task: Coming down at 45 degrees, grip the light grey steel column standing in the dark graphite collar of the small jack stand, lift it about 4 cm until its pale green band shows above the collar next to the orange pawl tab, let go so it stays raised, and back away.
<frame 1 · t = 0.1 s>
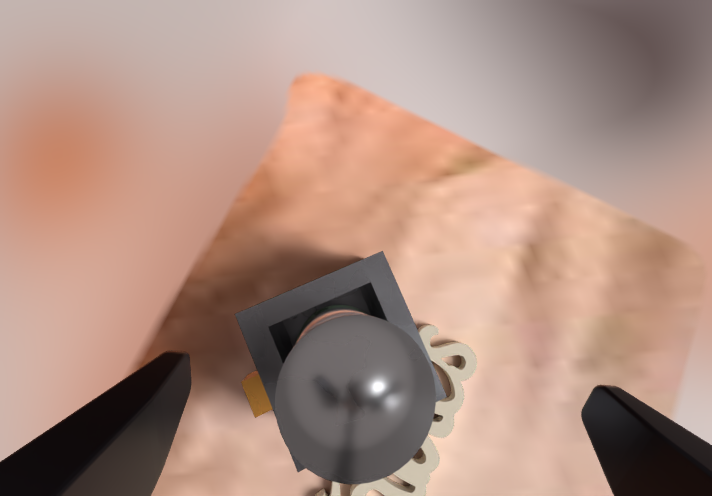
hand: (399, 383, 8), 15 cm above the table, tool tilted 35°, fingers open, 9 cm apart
stand collar: (336, 338, 22), on the table
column: (343, 357, 15), point 7 cm above the table, slide at 0.0 cm
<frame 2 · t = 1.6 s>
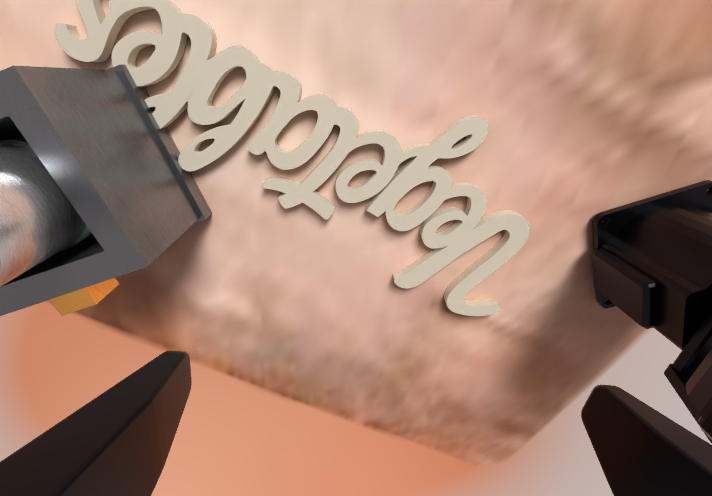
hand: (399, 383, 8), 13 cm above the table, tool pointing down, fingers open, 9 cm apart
decorative sign: (340, 150, 19), on the table
stand collar: (109, 170, 18), on the table
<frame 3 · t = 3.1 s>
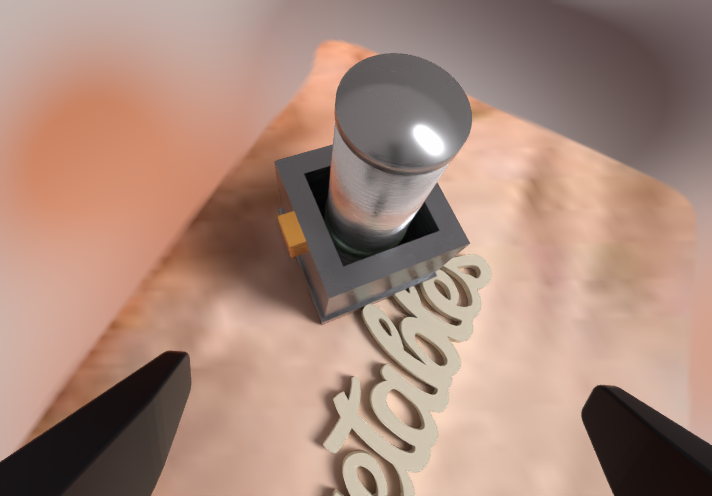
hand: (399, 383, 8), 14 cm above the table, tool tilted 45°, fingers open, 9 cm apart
decorative sign: (385, 450, 20), on the table
stand collar: (355, 247, 23), on the table
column: (373, 197, 17), point 7 cm above the table, slide at 0.0 cm
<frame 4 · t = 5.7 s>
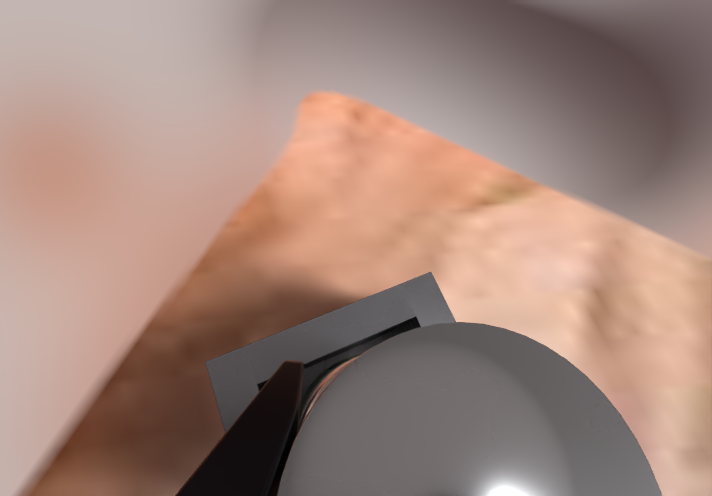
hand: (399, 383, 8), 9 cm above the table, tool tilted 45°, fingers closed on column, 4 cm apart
stand collar: (350, 413, 16), on the table
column: (378, 439, 9), point 7 cm above the table, slide at 0.0 cm, touching gripper, stand collar
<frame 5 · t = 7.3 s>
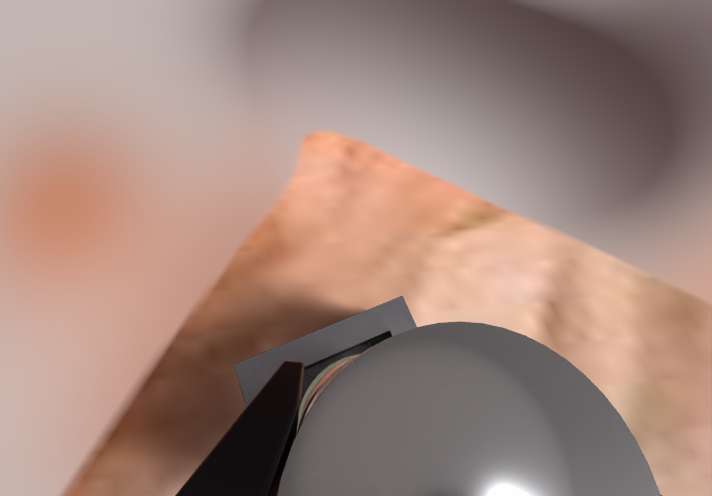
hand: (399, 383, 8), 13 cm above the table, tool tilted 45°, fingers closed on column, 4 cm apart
stand collar: (343, 405, 19), on the table
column: (378, 437, 9), point 11 cm above the table, slide at 3.8 cm, touching gripper
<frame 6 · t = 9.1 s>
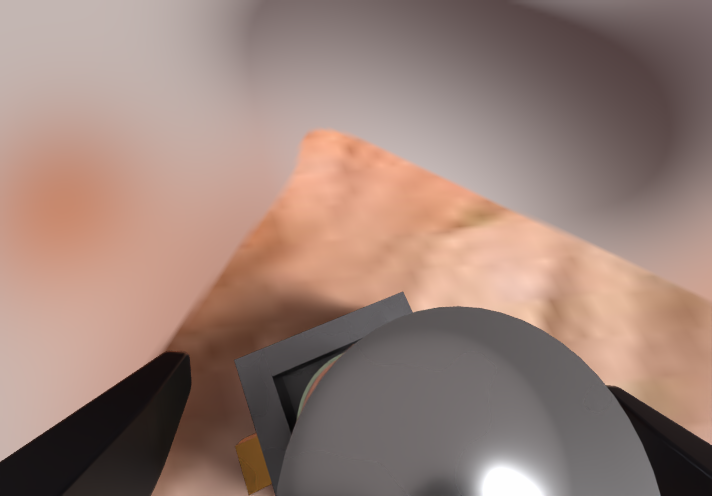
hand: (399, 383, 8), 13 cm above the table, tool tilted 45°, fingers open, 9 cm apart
stand collar: (343, 402, 19), on the table
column: (378, 429, 9), point 11 cm above the table, slide at 3.7 cm
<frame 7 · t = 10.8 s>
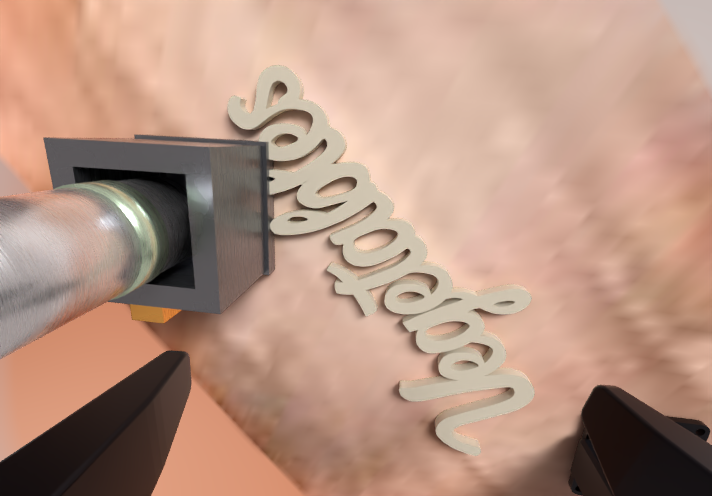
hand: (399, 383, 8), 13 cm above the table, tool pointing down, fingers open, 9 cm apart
decorative sign: (400, 265, 22), on the table
stand collar: (212, 204, 22), on the table
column: (40, 260, 11), point 11 cm above the table, slide at 3.7 cm
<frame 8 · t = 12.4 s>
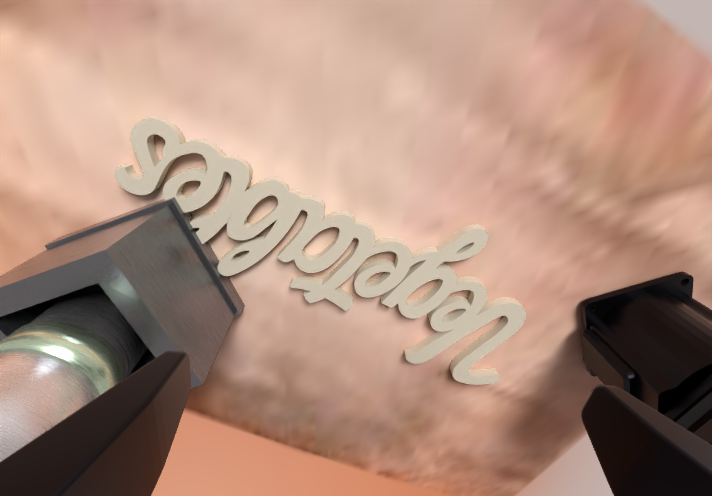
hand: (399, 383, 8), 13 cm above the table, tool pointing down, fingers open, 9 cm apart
decorative sign: (357, 251, 21), on the table
stand collar: (156, 273, 21), on the table
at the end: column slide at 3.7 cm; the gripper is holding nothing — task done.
